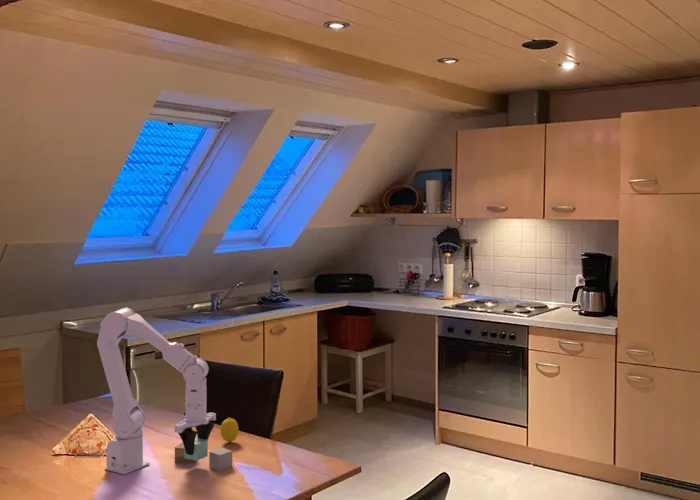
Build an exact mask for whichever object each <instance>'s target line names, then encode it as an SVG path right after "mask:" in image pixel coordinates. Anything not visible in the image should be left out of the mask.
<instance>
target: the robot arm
mask: <svg viewBox="0 0 700 500" xmlns="http://www.w3.org/2000/svg"><path fill="white" fill-rule="evenodd" d="M99 325H100V329H99V334H98V338H97V341H96V346H97V349H98V352H99V356H100V360H101V362H102V363H101V364H102V367H103V370H104V374H105V378H106V381H107V385H108V388H109V393H110V395H111V399H112V402H113V409H112V413H111V415H112V416H111V417H112V419H113V420H112V421H113V423H112V431H113V433H114V435H115V437H114V438H113V439H112V440H109V442H108V443H107V445H106V466H104V470H106V471H110V472H113V473H117V474H120V475H126V474H129V473H131V472H134V471H136V470H138V469H141V468H144V467H146V466H148V465H150V462H149V461H146V460H144V441H143V440H144V435H143V433H144V432H143V430H142V427H143V425H144V424H145V422H146V414H145V412H144V410H143V409H141V408H140V405H139V401H137V400H136V399H135V398H134V396H133V393H132V389H131V386H130V385H131V384H130V383H129V378H128V375H127V372H126V368H125V365H124V361H123V357H122V354H121V351H120V350H121V349H120V346H119V344H120V342H121V341H122V340H123V337H124V336H125V335H126V336H138V337H140V338H142V339H143V340H144V341H146V342H147V343H149V344H150V345H151V346H153V347H154V348H156V349H157V350H159V351H160V352H161V355H162V358H163V360H164V361H166V363H168V364H169V365H171V366H172V368H175V370H176V371H178V372H180V373H182V378H183V380H185V418H184V419H183V420H182V421H180V422H178V423H177V424H174V432H175V433H177V434H178V435H179V437H180V439H181V441H182V442H183V444H184V448H185V451H186V454H188V455H193V453H194V442H195V437H196V438H200V439H204V440H208V441H209V437H210V435H211V432H212V431H213V430H214V428H215V424H214V423H213V422H214V421H216V420H217V413H215V412H207V398H208V397H207V393H208V392H207V390H208V389H207V377H206V376H207V375H208V373H209V370H210V369H209V365H208V362H207V361H205V359H204V358H202V357H198V356H197V354H193V353H191V352H190V351H188V350H187V349H186V348H185V344H183V343H182V342H181V343H179V342H177V341H174V342H170V341H169V340H167V338H165V337H164V336H163V335H162V334H161V333H160V332H159V331H157V330H156V329H155V328H154V327H153V326H152V325H151V324H149V323H148V322H147V321H146V320H145V319H144V318H143V317H142V315H141V314H138V313H136V312H135V311H134V310H133V309H131V308H130V307H129V308H128V307H122V308H119V309H118V310H115V311H112V312H109V313H107V314H106V315H105V317H103V319H102V320H101V322H100V323H99ZM211 421H213V422H211ZM193 428H195V430H194V429H193Z"/></svg>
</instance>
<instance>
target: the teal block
mask: <svg viewBox="0 0 700 500" xmlns="http://www.w3.org/2000/svg"><path fill="white" fill-rule="evenodd" d="M208 441H209V439H208V440H204V439H200V438H198V437H197V436H196V437H195V442H194V453H193V455H188V454H186V451H185V448H184V458H187V459H191V460H194V461H195V462H197V461H200V460H202V459H204V458H206V457H208V456H209V452H208V447H209V446H208V445H209V442H208Z"/></svg>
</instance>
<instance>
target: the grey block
mask: <svg viewBox="0 0 700 500" xmlns="http://www.w3.org/2000/svg"><path fill="white" fill-rule="evenodd" d="M208 456H209V459H208V460H209V461H208V463H209V464H208V465H209V468H211V469H214V470H215V471H219V472H221V471H223V470H227V469H229V468H232V467H233V450H230V449H228V448H226V447H225V448H224V447H220V448H215V449H214V450H211V451H209V452H208Z"/></svg>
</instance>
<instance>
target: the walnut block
mask: <svg viewBox="0 0 700 500" xmlns="http://www.w3.org/2000/svg"><path fill="white" fill-rule="evenodd" d="M194 461H195V460H191V459H187V458H184V444H183V441H182V442H181V443H180V444H178V445H176V446H174V463H176V464H177V463H178V464H181V465H182V464H183V465H190V464H191V463H193V462H194Z"/></svg>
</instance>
